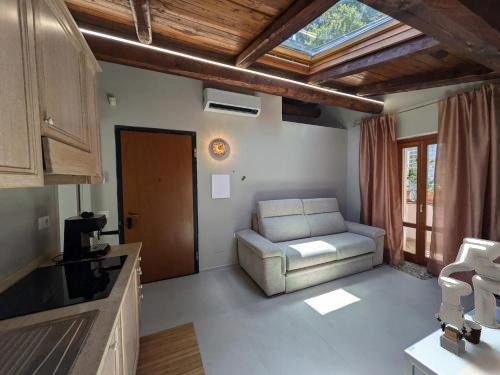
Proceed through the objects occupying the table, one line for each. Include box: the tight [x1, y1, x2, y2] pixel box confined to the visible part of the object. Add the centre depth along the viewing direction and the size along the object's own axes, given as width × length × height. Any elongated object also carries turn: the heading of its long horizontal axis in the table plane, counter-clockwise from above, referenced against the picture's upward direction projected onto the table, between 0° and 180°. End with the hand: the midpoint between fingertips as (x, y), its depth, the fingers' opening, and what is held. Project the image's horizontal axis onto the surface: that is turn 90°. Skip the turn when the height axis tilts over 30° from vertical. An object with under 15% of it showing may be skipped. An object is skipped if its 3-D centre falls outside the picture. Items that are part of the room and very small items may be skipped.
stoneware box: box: [439, 332, 466, 357], centre depth 119 cm, size 8×8×6 cm
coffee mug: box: [463, 319, 483, 345], centre depth 125 cm, size 12×9×10 cm
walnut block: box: [444, 325, 460, 342], centre depth 119 cm, size 5×5×5 cm
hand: (452, 334), depth 119 cm, fingers open, 6 cm apart
